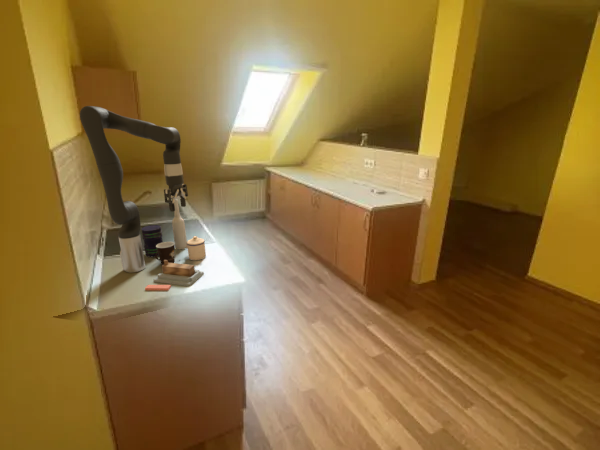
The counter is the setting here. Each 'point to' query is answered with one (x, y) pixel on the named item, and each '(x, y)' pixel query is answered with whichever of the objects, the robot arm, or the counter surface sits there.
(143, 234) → the storage jar
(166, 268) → the plank with peg
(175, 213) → the bottle
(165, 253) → the coffee mug
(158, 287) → the salmon pink bar
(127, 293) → the counter surface
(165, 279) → the cradle jig
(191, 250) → the teacup with lid
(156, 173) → the counter surface
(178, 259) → the counter surface
